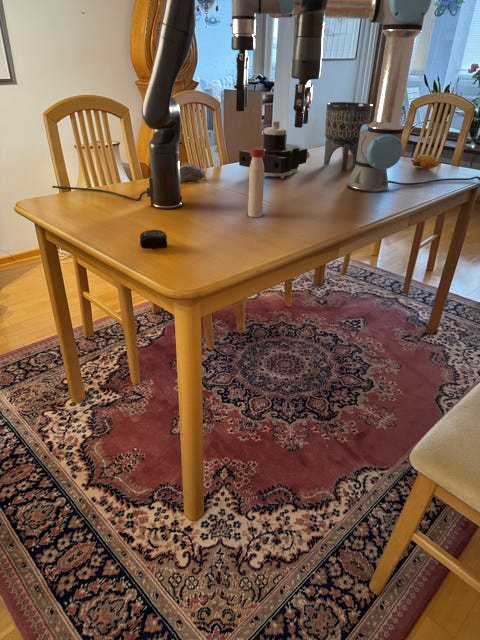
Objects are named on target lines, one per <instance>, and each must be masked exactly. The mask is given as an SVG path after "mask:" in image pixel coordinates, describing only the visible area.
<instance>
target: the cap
mask: <svg viewBox="0 0 480 640" xmlns="http://www.w3.org/2000/svg"><path fill="white" fill-rule="evenodd" d="M258 147H259V146H258ZM258 147H250V148H249V151H250V156H251V157H264V155H265V149H264V148H258Z"/></svg>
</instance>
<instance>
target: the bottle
mask: <svg viewBox="0 0 480 640" xmlns="http://www.w3.org/2000/svg"><path fill="white" fill-rule="evenodd" d="M248 172H249V173H248V202H247V203H248V204H247V216H248V217H251V218H261V217H262V216H263V209H264V207H263V205H264V185H265V184H264V183H265V177H264V164H263V160H262V157H252V160H251V163H250V167H248Z"/></svg>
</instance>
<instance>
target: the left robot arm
mask: <svg viewBox="0 0 480 640" xmlns="http://www.w3.org/2000/svg"><path fill="white" fill-rule="evenodd" d="M327 1H328V0H301V9H300V11H299V12H298V15H297V17H296V19H295V20H296V22H295V31H294V42H293V48H292V58H291V59H292V60H291V74H290V77H291V78H292V79H295V80H298V84H297V83H296V84H295V86H294V100H293V107H292V108H293V110H294V128H297V129H302V128H303V127H304V125H307V124H308V123H309V116H310V109H311V106H312V103H313V102H312V100H313V91H314V82H313V81H312V80H319V79H320V77H321V70H322V69H321V68H322V61H323V60H322V58H323V47H324V46H323V43H324V42H323V38H324V29H325V18H324V16H325V11H326V6H327ZM196 18H197V17H196V0H164V6H163V10H162V14H161V20H160V24H159V28H158V34H157V41H156V46H155V52H154V57H153V61H152V68H151V72H150V73H151V74H150V77H149V80H148V83H147V88H146V90H145V94H144V98H143V101H142V105H141V117H142V120H143V122H144V124H145V126H147V128H149V129H151V130H153V133H152V134H153V135H152V137H151V138H150V140H149V142H148V152H149V164H150V165H149V166H150V176H149V177H148V185H149V186H148V187H147V188H146V190H145V191H142V192H141V193H139V197H138V198H135V197H131V196H128V195H125V194H122V193H118V192H115V191H112V190H111V191H110V190H106V189H99V188H89V187H76V186H75V187H73V186H62V185H61V186H60V185H52V188H53V189H64V190H75V191H76V190H78V191H90V192H99V193H104V194H105V193H106V194H110V195H115V196H118V197H122V198H125V199H128V200H131V201H135V202H136V201H137V202H138V201H141V199H142V197H143V196H144V195H146V196H147V197H149V198H150V199H149V200H150V207H154V208H156V209H161V210H170V209H171V210H172V209H177V208H180V207H181V206H182V200H183V196H182V191H181V190H182V189H181V183H180V148H179V147H180V143H181V137H182V136H181V134H182V133H181V132H182V131H181V130H182V129H181V126H182V125H181V123H182V122H181V121H182V120H181V109H180V105H179V103H178V101H177V100H176V98H175V97H173V96H172V94H173V90H174V87H175V82H176V81H177V78H178V76H179V74H180V73H181V71H182V69H183V68H184V65H185V64H186V62H187V59H188V57H189V54H190V51H191V48H192V45H193V44H192V43H193V39H194V35H195V31H196V30H195V29H196V23H197V22H196V20H197V19H196Z"/></svg>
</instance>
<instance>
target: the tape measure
mask: <svg viewBox="0 0 480 640" xmlns="http://www.w3.org/2000/svg"><path fill="white" fill-rule="evenodd" d="M167 236H168V235H167V234H166V232H165V231H164V230H161V229H147V230H144V231H143V232H141V233H140V235H139V240H140V241H139V245H140V246H139V247H141V248H142V249H146V250H157V249H167V248H168V240H167V239H168V237H167Z"/></svg>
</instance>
